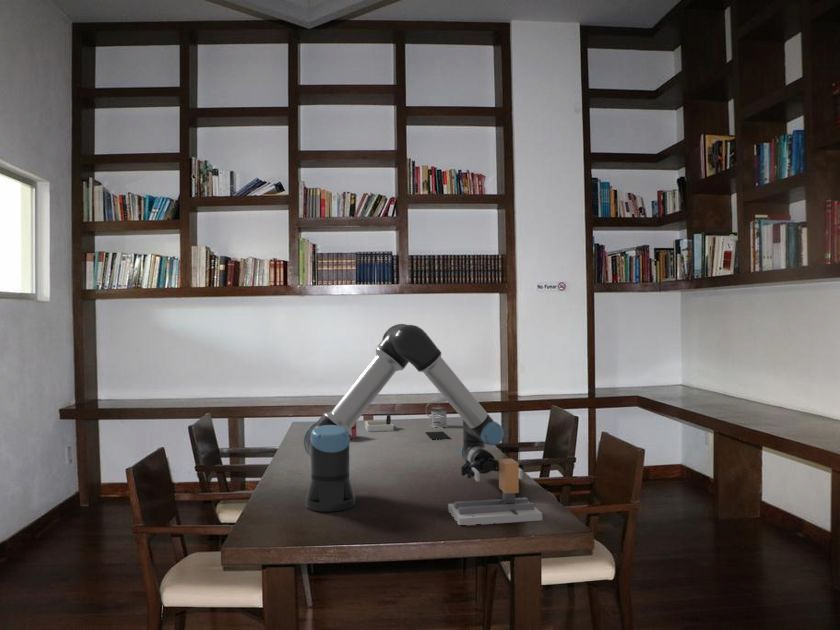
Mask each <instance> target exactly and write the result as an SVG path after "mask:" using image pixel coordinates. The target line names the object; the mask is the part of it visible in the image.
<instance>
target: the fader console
mask: <svg viewBox="0 0 840 630" xmlns="http://www.w3.org/2000/svg"><path fill="white" fill-rule="evenodd" d="M500 501H502V498H497V499H496V498H494V499H481V500H479V499H478V500H463V501H461V500H460V501H454V502H453V503H448V504H447V509H448V510H449V511H448V510H447V511H448V512H449V514H450V513H451V514H450V515H451V517H452V518H453V517H454V518H453V520H454V521H455V522H456V521H457V522H456V523H457V525H458V526H459V525H467V526H477V525H476V524H481V525H493V524H494V523H495V524H507V523H509V524H510V523H521V522H522V523H523V522H535V521H537V522H538V521H543V512H541V511H540V510H539V509H538V508H537V507H535V503H534V502H529V499H528V497H515V501H516V502H517V503H516V504H500Z"/></svg>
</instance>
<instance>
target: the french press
mask: <svg viewBox="0 0 840 630" xmlns="http://www.w3.org/2000/svg"><path fill="white" fill-rule="evenodd" d="M437 390H438V389H437ZM437 393H438V396H435V397H433V398H432V399H430V401H431V402H428V403H427V404H426V406H425V409H427V407H428V406H429V405H430V406H432V402H436V403H438V405H440V403H441V402H445V403H446V402H447V400H446V399H445V397H444V396H443V397H442V396H440V391H439V390H438V392H437ZM425 413H426V415H427V416H428V417H429V418H430V425H429V426H432V427H447V426H448V425H447V410H446V407H445V406H433V407H431V415H429V414H428V412H427V411H425ZM447 428H448V427H447Z"/></svg>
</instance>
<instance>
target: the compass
mask: <svg viewBox="0 0 840 630" xmlns="http://www.w3.org/2000/svg"><path fill="white" fill-rule="evenodd" d="M391 418H392V417H391V415H390V414H389V413H388V414H387V415H386V420H385V421H386V425H388V424H390V423H391V422H392V421H391Z"/></svg>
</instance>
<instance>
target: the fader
mask: <svg viewBox="0 0 840 630" xmlns="http://www.w3.org/2000/svg"><path fill="white" fill-rule="evenodd" d="M498 460H499V471H498V489H500V490H501V493H502V498H501V499H502V501H500V504H516V503H517V502H516V501H515V498H516V494H519V493H520V490H519V489H520V486H519V485H520V484H519V483H520V482H519V480H520V479H519V463H520V462H518V461H516V460H515V459H513V458H499V459H498Z"/></svg>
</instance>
